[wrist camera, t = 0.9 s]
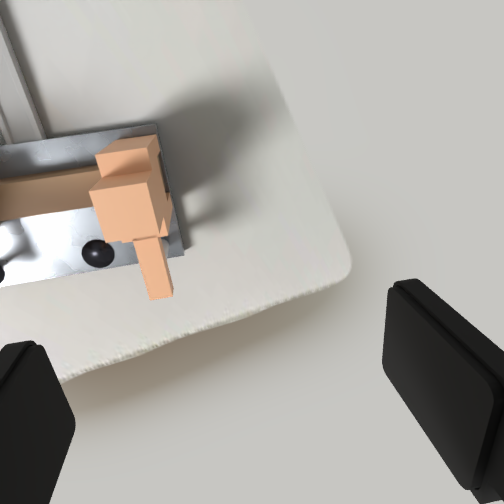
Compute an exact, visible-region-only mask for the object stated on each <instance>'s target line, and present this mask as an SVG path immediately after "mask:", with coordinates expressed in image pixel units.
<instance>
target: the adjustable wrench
mask: <svg viewBox="0 0 504 504" xmlns="http://www.w3.org/2000/svg"><path fill="white" fill-rule="evenodd" d="M0 129H1V131H2V134H3V136H4V139H5V141H6V144H7V145H11V144H15V143H23V142H30V141H39V140H44V139H46V135H45V132H44V130H43V127H42V124H41V122H40V119H39V116H38V114H37V111H36V108H35V106H34V103H33V100H32V98H31V95H30V92H29V90H28V87H27V85H26V82H25V79H24V77H23V74H22V71H21V69H20V66H19V63H18V61H17V58H16V55H15V53H14V50H13V47H12V45H11V42H10V39H9V37H8V34H7V32H6V29H5V26H4V24H3V21H2V18H1V16H0Z"/></svg>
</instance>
